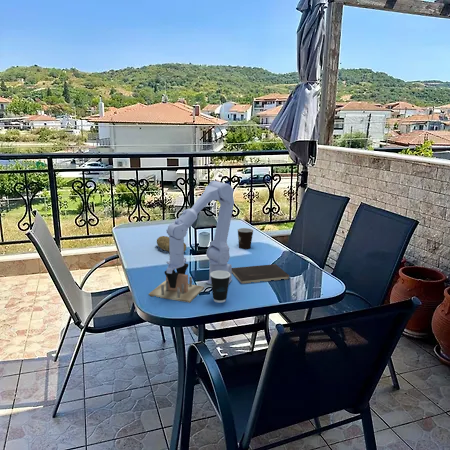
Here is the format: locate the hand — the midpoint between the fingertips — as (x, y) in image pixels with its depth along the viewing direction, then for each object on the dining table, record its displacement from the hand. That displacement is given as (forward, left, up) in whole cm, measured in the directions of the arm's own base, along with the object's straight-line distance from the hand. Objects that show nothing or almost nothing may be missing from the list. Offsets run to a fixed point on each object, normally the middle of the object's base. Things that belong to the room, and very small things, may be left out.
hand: (176, 284), depth 168 cm
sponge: (+26, -49, -4) cm, 55 cm away
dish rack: (0, 0, -3) cm, 3 cm away
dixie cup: (-19, +1, -4) cm, 19 cm away
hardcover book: (-27, -31, -4) cm, 41 cm away
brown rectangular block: (0, 0, -3) cm, 3 cm away
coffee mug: (-9, -70, -4) cm, 71 cm away
